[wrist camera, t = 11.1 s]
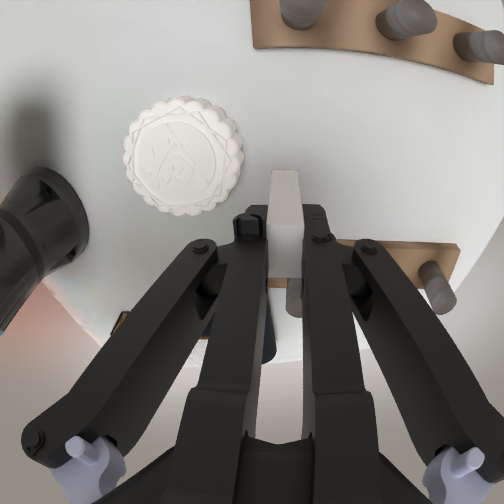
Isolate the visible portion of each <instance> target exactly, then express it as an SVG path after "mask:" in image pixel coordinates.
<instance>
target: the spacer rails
mask: <svg viewBox="0 0 504 504" xmlns="http://www.w3.org/2000/svg"><path fill="white" fill-rule="evenodd" d="M250 9H251V22H252V36H253V47H254V48H255V49H259V48H321V49H336V50H347V51H356V52H364V53H371V54H378V55H384V56H390V57H395V58H400V59H405V60H410V61H414V62H418V63H423V64H427V65H430V66H434V67H438V68H441V69H445V70H448V71H451V72H454V73H457V74H460V75H463V76H466V77H469V78H472V79H475V80H477V81H480V82H483V83H485V84H489V85H494V64H501V65H504V34H503V33H502V32H500V31H497V30H491V31H485V30H483V29H481V28H479V27H476V26H474V25H472V24H470V23H467V22H465V21H463V20H460V19H458V18H455V17H452V16H450V15H447V14H444V13H442V12H439V11H436V10H433V9H432V7H431V6H430V5H429V4H428V3H427V2H425V1H424V0H250ZM336 241H337V242H338V243H341V244H343V245H347V246H352V247H354V243H355V242H356V241H357V240H336ZM377 242H379V243H380V244H381V245H382V246H383V247H384V248H385V249H386V250H387V251H388V253H389V254H390V255H391V256H392V258H393V259H394V260H395V261H396V263H397V264H398V265H399V266H400V268H401V269H402V270H403V271H404V273H405V274H406V275H407V276H408V278H409V279H410V280H411V282H412V283H413V284H414V286H415V287H416V288H417V289H424V290H425V292H426V295H427V297H428V299H429V302H430V304H431V306H432V309H433V311H434V313H435V314H437V315H443V314H446V313H448V312H449V311H451V310H452V309H453V307H454V306H455V305H456V301H457V299H456V297H455V295H454V293H453V291H452V289H451V287H450V285H449V283H448V282H449V279H450V277H451V274H452V272H453V269H454V267H455V264H456V262H457V259H458V257H459V254H460V249H459V248H458V246H457V245H456V244H449V243H425V242H398V241H377ZM301 281H302V278H268V287H270V288H287V292H286V311H287V312H288V313H289V314H290V315H291V316H294V317H298V318H302V298H300V296H301Z"/></svg>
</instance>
